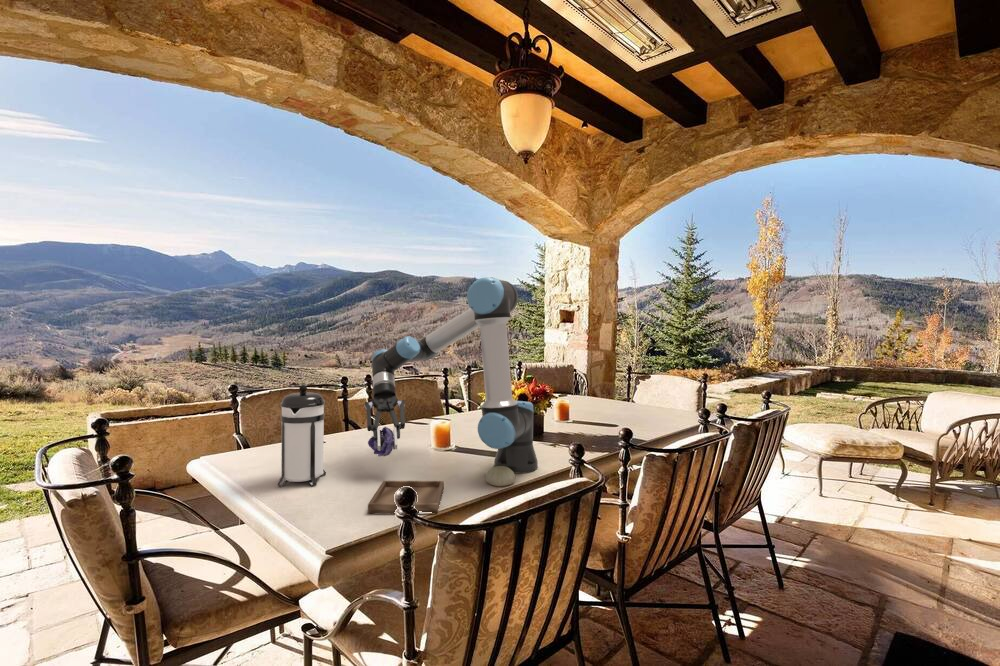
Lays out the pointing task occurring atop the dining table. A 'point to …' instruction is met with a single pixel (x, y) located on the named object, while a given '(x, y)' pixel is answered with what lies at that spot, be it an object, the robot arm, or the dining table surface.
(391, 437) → the amethyst cluster
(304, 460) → the coffee press
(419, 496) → the walnut tray
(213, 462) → the dining table surface
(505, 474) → the sea urchin shell
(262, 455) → the dining table surface
